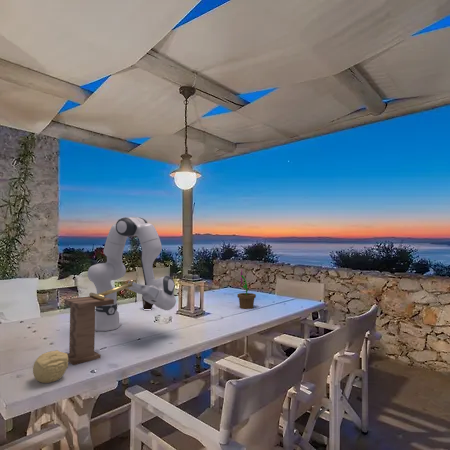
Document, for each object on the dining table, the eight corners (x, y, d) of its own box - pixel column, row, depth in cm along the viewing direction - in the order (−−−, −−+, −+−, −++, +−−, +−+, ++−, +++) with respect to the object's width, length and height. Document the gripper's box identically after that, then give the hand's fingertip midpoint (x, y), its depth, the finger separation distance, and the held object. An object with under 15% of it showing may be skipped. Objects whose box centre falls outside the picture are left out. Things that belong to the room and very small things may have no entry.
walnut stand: (61, 356, 154) (62, 299, 155) (97, 348, 166) (98, 295, 167) (75, 366, 143) (76, 304, 144) (112, 356, 155) (113, 299, 156)
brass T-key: (88, 296, 163) (88, 293, 163) (129, 283, 178) (128, 279, 178) (102, 301, 153) (101, 296, 153) (143, 286, 168) (143, 282, 168)
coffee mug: (140, 308, 256) (141, 295, 256) (152, 307, 259) (152, 294, 259) (143, 312, 245) (143, 298, 245) (155, 311, 248) (155, 297, 249)
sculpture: (40, 389, 122) (40, 359, 122) (28, 379, 130) (28, 351, 130) (71, 379, 131) (72, 351, 131) (58, 370, 139) (59, 344, 139)
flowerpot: (238, 305, 270) (238, 267, 271) (256, 306, 268) (256, 268, 269) (236, 309, 256) (236, 269, 257) (255, 310, 254) (255, 270, 255)
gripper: (142, 286, 188) (123, 275, 180) (164, 290, 174) (144, 279, 165) (137, 296, 186) (117, 286, 177) (159, 302, 171) (138, 291, 163)
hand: (130, 283), depth 171 cm, fingers closed on brass T-key, 2 cm apart
